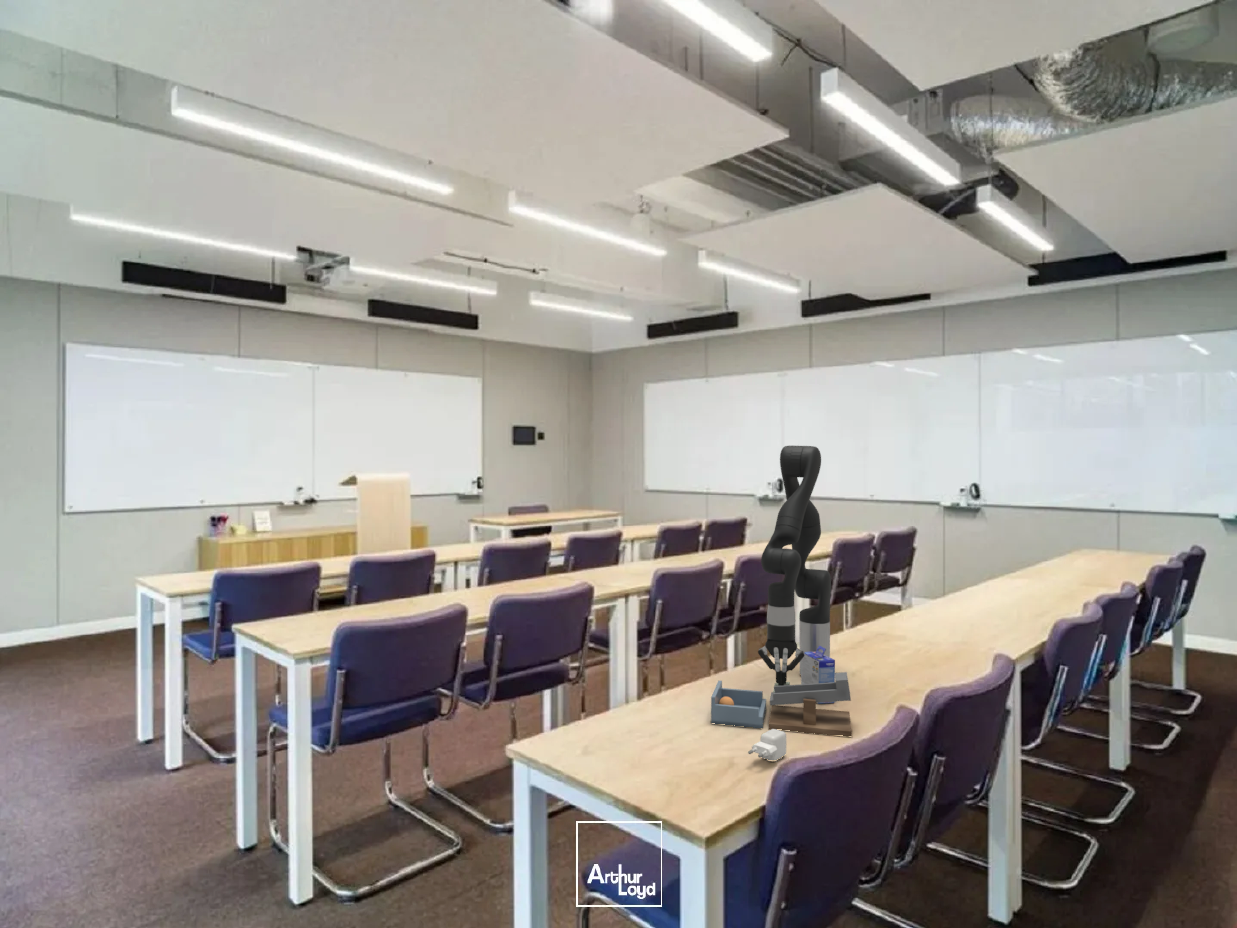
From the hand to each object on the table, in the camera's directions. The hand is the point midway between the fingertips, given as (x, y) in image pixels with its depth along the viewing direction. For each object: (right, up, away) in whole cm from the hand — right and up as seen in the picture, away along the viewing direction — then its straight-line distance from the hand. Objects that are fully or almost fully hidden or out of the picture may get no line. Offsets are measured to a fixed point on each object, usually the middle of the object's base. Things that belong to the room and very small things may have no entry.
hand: (781, 684), depth 196 cm
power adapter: (-11, -8, -33) cm, 36 cm away
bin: (-12, -7, -6) cm, 15 cm away
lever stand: (+5, -7, -11) cm, 13 cm away
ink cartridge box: (+12, -7, +8) cm, 16 cm away
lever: (+6, -1, -7) cm, 9 cm away
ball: (-16, -4, -5) cm, 17 cm away
